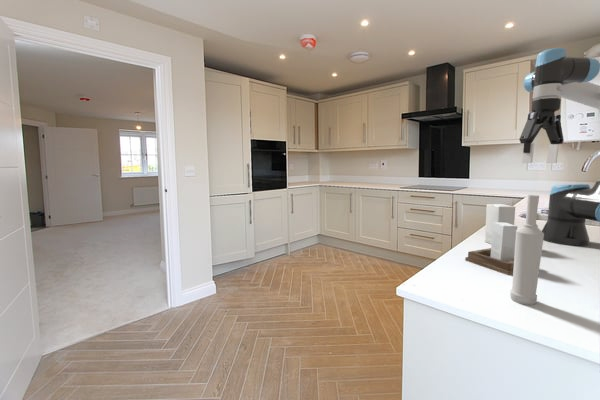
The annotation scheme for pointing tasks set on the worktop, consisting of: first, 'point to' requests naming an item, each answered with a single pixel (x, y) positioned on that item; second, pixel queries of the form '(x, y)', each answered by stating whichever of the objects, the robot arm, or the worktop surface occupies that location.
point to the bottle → (527, 256)
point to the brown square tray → (490, 261)
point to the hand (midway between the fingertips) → (539, 163)
